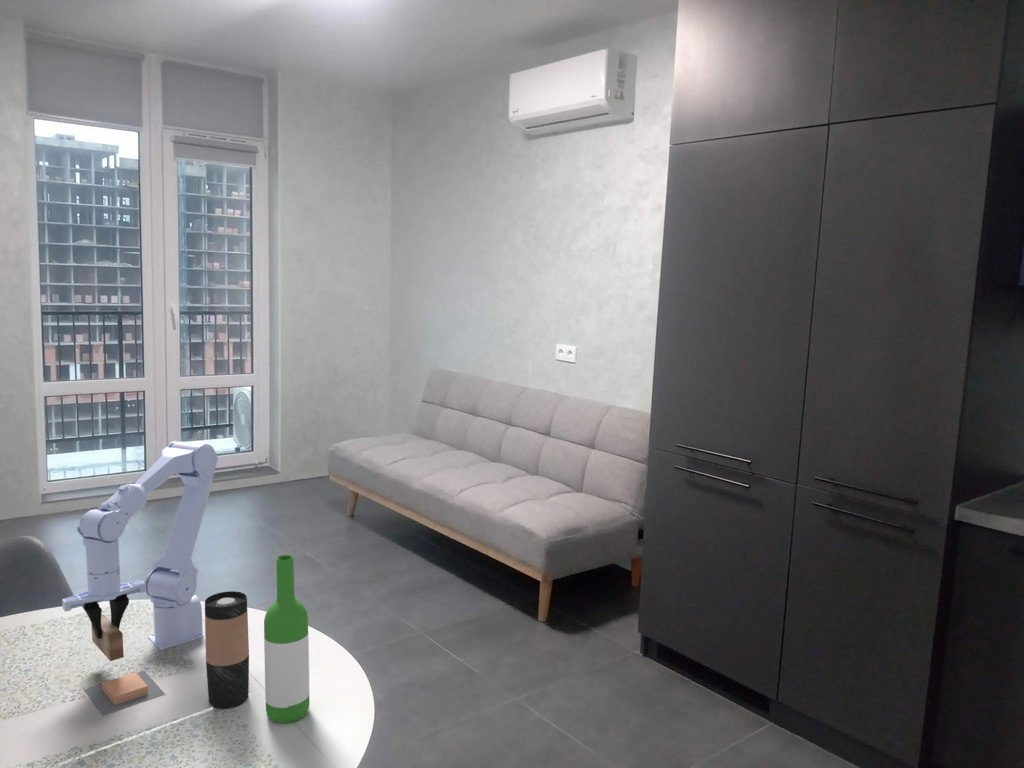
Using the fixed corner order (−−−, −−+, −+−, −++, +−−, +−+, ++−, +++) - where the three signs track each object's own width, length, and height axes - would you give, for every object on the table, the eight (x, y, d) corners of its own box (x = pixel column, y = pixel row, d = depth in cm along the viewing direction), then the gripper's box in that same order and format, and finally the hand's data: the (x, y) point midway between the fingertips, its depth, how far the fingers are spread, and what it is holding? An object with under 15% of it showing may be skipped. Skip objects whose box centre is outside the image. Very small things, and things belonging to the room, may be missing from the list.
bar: (92, 641, 155) (91, 617, 154) (105, 637, 157) (103, 614, 156) (110, 661, 146) (109, 636, 146) (123, 657, 148) (122, 632, 147)
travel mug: (258, 693, 146) (256, 594, 144) (231, 713, 139) (228, 610, 137) (226, 685, 149) (223, 588, 146) (198, 705, 142) (194, 603, 139)
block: (135, 672, 149) (147, 685, 144) (135, 680, 149) (148, 694, 144) (102, 682, 145) (113, 697, 140) (102, 691, 145) (114, 705, 140)
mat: (144, 672, 153) (144, 670, 153) (165, 696, 145) (165, 694, 144) (84, 691, 146) (83, 689, 146) (102, 717, 137) (102, 715, 137)
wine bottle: (315, 717, 138) (312, 560, 135) (272, 730, 134) (268, 568, 130) (302, 698, 145) (300, 547, 141) (261, 709, 141) (257, 554, 137)
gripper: (67, 584, 142) (71, 653, 143) (149, 566, 152) (151, 630, 153) (58, 574, 147) (61, 640, 148) (137, 556, 157) (140, 619, 158)
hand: (106, 634), depth 151 cm, fingers closed on bar, 2 cm apart
